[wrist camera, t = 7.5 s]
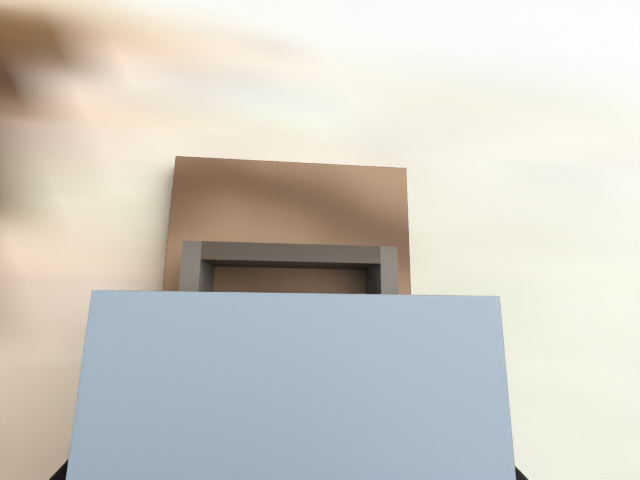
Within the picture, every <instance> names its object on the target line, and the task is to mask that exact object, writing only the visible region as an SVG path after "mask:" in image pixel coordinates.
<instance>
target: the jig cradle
mask: <svg viewBox="0 0 640 480" xmlns="http://www.w3.org/2000/svg"><path fill="white" fill-rule="evenodd" d="M163 291H180V292H249V293H317V294H386V295H411V282H410V255H409V229H408V202H407V176H406V168H395V167H375V166H356V165H337V164H317V163H298V162H279V161H259V160H240V159H221V158H201V157H182V156H176V158H175V168H174V179H173V189H172V199H171V209H170V219H169V230H168V240H167V250H166V260H165V271H164V281H163Z"/></svg>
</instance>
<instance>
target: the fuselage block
mask: <svg viewBox="0 0 640 480" xmlns="http://www.w3.org/2000/svg"><path fill="white" fill-rule="evenodd" d="M66 480H516V475H515V464H514V452H513V441H512V430H511V419H510V407H509V396H508V385H507V374H506V362H505V351H504V340H503V329H502V318H501V306H500V296H454V295H386V294H317V293H249V292H180V291H112V290H92V294H91V301H90V308H89V315H88V323H87V330H86V337H85V344H84V351H83V359H82V366H81V373H80V380H79V388H78V395H77V402H76V409H75V417H74V424H73V431H72V438H71V445H70V453H69V460H68V467H67V474H66Z"/></svg>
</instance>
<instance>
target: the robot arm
mask: <svg viewBox="0 0 640 480" xmlns="http://www.w3.org/2000/svg"><path fill="white" fill-rule="evenodd" d="M68 460H69V459H68ZM68 460H67V461H66V462H65V463H64V464H63V465H62V467H61V468H60V469H59V470H58V471H57V472H56V473H55V474H54V475H53V476H52V477H51V478H50V479H49V480H66V474H67V467H68ZM515 475H516V480H528V479H527V478H526V477H525V476H524V475H523V474H522V472H521V471H520V470H519V469H518V468H517V467H516V466H515Z"/></svg>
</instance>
